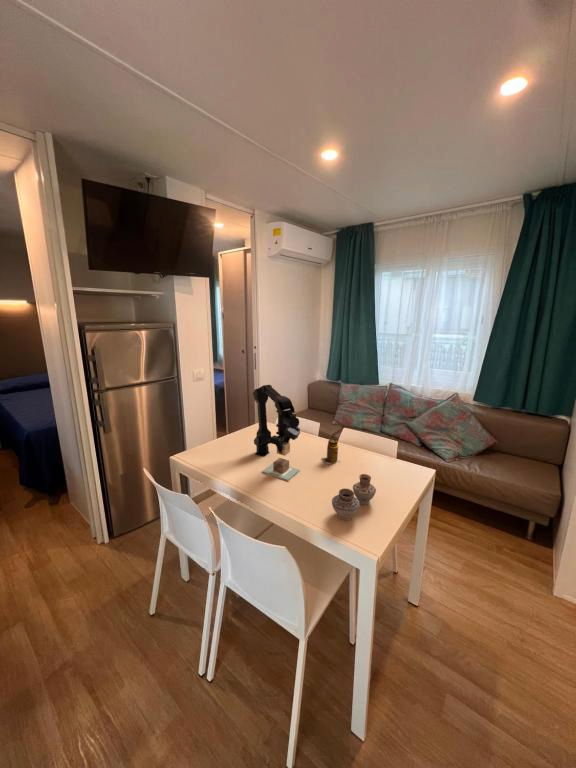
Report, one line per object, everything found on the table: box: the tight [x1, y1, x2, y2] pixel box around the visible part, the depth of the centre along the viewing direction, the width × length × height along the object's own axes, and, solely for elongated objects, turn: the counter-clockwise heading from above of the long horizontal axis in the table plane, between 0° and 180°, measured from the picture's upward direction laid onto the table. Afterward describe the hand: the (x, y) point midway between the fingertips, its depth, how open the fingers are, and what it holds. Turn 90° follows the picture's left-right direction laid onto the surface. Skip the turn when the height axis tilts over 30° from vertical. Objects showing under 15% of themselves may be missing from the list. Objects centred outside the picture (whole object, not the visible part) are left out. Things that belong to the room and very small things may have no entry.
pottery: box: [331, 473, 377, 521], centre depth 127 cm, size 11×25×12 cm, turn 136°
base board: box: [261, 463, 301, 482], centre depth 158 cm, size 16×12×1 cm
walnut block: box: [272, 457, 290, 474], centre depth 157 cm, size 6×6×5 cm
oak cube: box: [276, 442, 291, 456], centre depth 156 cm, size 5×5×5 cm
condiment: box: [321, 438, 341, 465], centre depth 170 cm, size 7×8×12 cm
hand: (283, 450), depth 156 cm, fingers closed on oak cube, 5 cm apart
